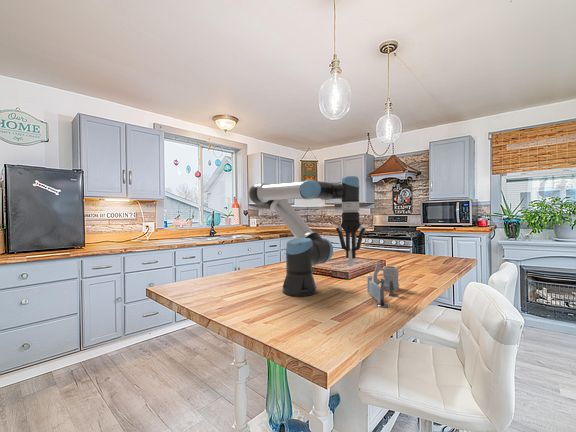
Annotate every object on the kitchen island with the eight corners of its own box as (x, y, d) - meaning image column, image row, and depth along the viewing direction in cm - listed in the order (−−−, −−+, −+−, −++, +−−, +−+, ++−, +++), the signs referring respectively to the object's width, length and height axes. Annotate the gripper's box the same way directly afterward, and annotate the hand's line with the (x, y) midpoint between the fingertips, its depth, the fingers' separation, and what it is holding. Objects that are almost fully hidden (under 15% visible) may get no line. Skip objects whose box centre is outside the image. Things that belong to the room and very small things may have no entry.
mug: (401, 290, 124) (401, 264, 124) (375, 290, 125) (374, 264, 125) (396, 286, 132) (396, 261, 132) (371, 286, 133) (370, 261, 133)
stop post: (388, 296, 117) (388, 281, 117) (389, 293, 120) (389, 279, 120) (396, 297, 115) (396, 282, 115) (397, 294, 119) (397, 280, 119)
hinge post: (375, 306, 104) (375, 279, 103) (377, 303, 107) (377, 277, 107) (387, 308, 102) (387, 280, 102) (388, 305, 105) (388, 278, 105)
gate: (367, 291, 122) (366, 274, 121) (371, 291, 122) (371, 274, 121) (379, 303, 105) (379, 284, 105) (383, 303, 105) (383, 284, 105)
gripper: (333, 212, 121) (334, 266, 121) (363, 211, 115) (364, 268, 115) (338, 212, 128) (338, 263, 128) (367, 211, 122) (367, 265, 122)
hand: (350, 265), depth 122 cm, fingers closed
